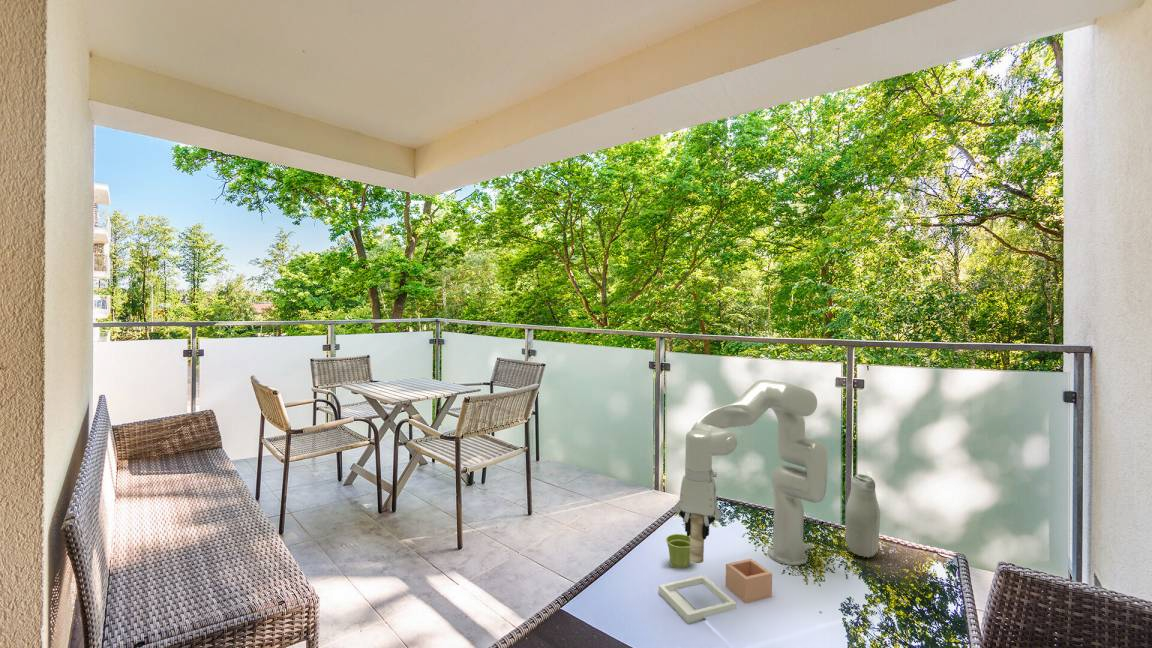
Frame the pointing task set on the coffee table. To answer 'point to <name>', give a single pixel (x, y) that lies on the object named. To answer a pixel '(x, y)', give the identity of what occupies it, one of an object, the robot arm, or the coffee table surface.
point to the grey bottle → (862, 517)
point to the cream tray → (685, 607)
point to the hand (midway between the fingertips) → (696, 535)
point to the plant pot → (679, 550)
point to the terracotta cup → (748, 580)
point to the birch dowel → (696, 538)
